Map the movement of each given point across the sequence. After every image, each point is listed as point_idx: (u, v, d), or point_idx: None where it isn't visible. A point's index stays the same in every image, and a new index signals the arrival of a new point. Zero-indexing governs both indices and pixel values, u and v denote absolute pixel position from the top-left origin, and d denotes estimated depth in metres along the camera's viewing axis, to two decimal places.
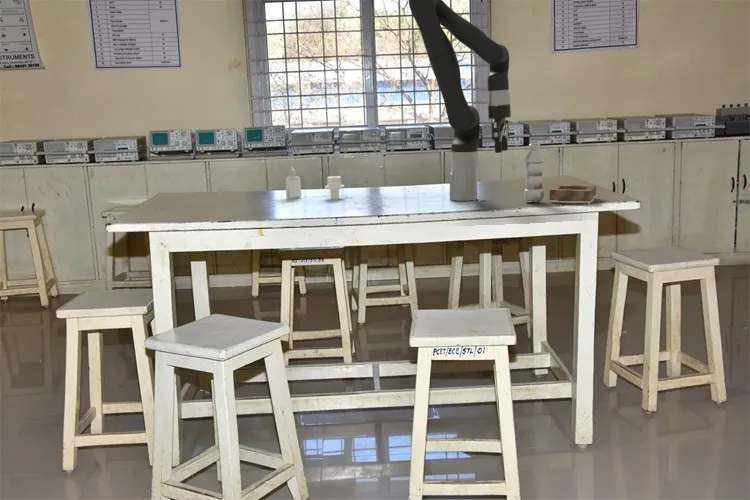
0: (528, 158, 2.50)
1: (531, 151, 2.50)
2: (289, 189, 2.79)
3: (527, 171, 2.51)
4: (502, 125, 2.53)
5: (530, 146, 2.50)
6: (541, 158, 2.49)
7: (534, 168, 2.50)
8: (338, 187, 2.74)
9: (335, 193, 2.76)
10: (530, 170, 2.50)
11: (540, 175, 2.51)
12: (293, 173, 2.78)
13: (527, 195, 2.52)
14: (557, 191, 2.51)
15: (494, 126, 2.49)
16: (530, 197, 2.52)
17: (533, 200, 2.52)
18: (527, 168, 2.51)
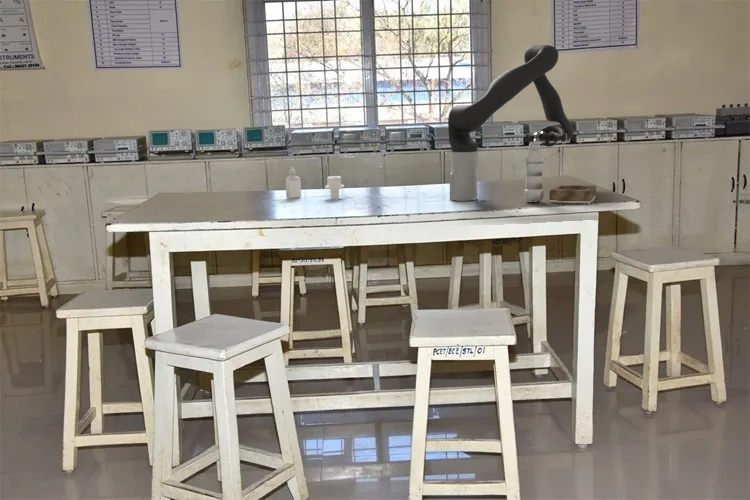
0: (528, 158, 2.50)
1: (531, 151, 2.50)
2: (289, 189, 2.79)
3: (527, 171, 2.51)
4: None
5: (530, 146, 2.50)
6: (541, 158, 2.49)
7: (534, 168, 2.50)
8: (338, 187, 2.74)
9: (335, 193, 2.76)
10: (530, 170, 2.50)
11: (540, 175, 2.51)
12: (293, 173, 2.78)
13: (527, 195, 2.52)
14: (557, 191, 2.51)
15: (566, 136, 2.66)
16: (530, 197, 2.52)
17: (533, 200, 2.52)
18: (527, 168, 2.51)
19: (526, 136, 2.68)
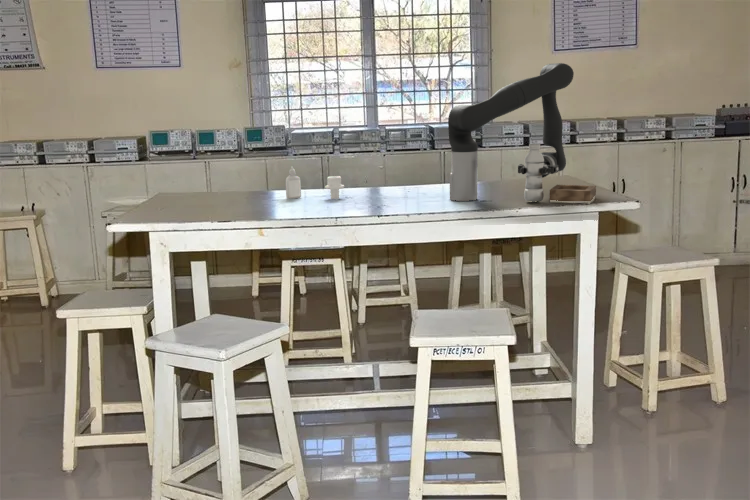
0: (529, 158, 2.50)
1: (531, 151, 2.50)
2: (289, 189, 2.79)
3: (527, 171, 2.51)
4: None
5: (530, 146, 2.50)
6: (541, 158, 2.49)
7: (534, 168, 2.50)
8: (338, 187, 2.74)
9: (335, 193, 2.76)
10: (531, 170, 2.50)
11: (540, 175, 2.51)
12: (293, 173, 2.78)
13: (527, 195, 2.52)
14: (557, 191, 2.51)
15: (557, 168, 2.55)
16: (530, 197, 2.52)
17: (533, 200, 2.52)
18: (527, 168, 2.51)
19: (519, 167, 2.56)
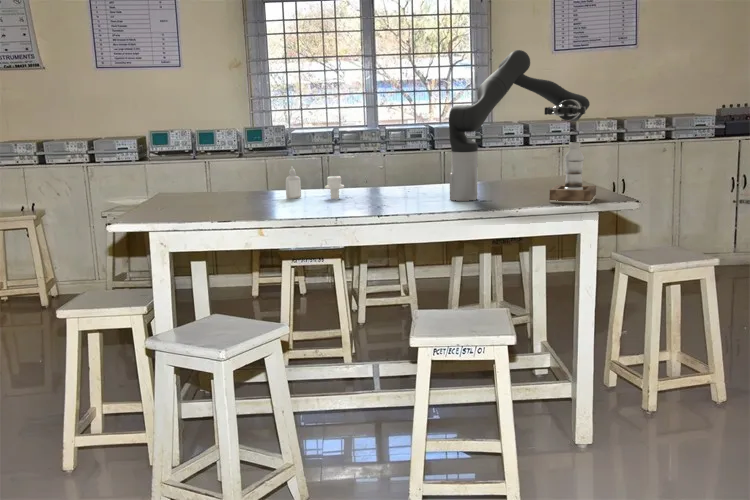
0: (569, 156, 2.52)
1: (571, 149, 2.52)
2: (289, 189, 2.79)
3: (567, 169, 2.53)
4: None
5: (570, 144, 2.52)
6: (581, 156, 2.51)
7: (574, 167, 2.52)
8: (338, 187, 2.74)
9: (335, 193, 2.76)
10: (571, 168, 2.52)
11: (580, 173, 2.53)
12: (293, 173, 2.78)
13: None
14: (557, 191, 2.51)
15: (585, 109, 2.70)
16: None
17: None
18: (567, 166, 2.53)
19: (545, 109, 2.72)
